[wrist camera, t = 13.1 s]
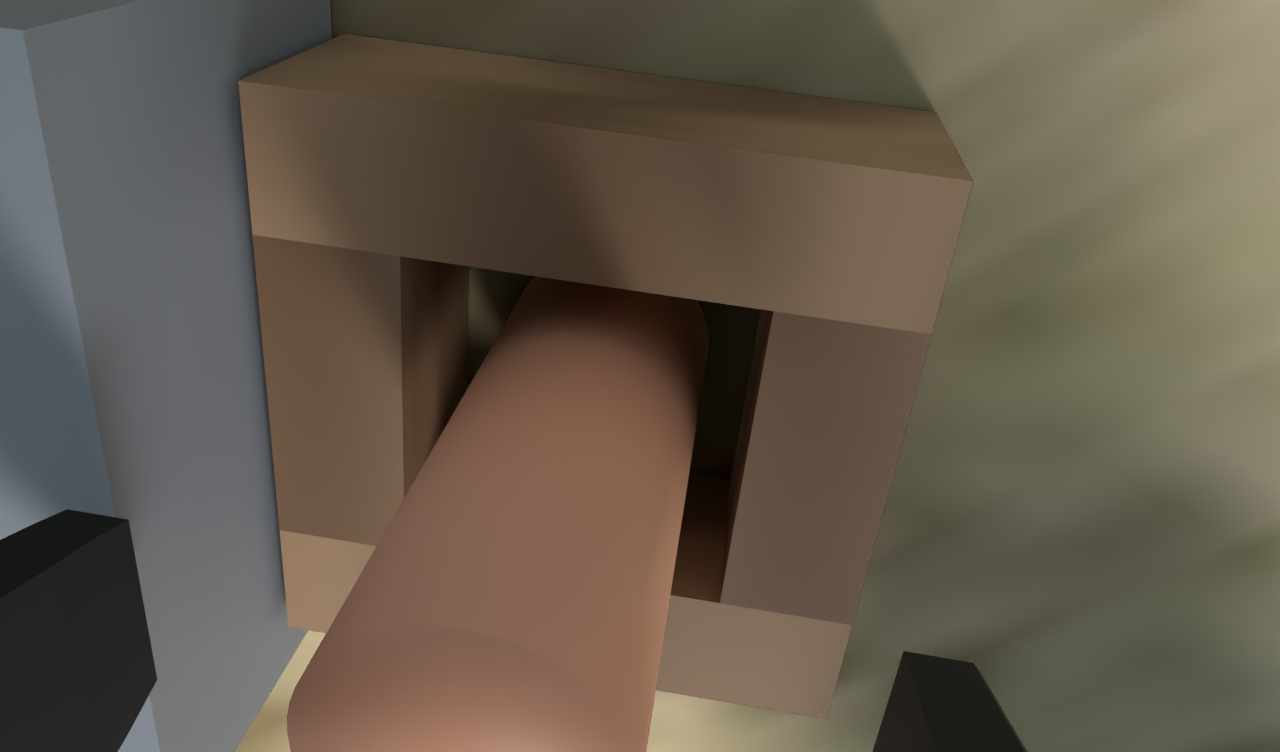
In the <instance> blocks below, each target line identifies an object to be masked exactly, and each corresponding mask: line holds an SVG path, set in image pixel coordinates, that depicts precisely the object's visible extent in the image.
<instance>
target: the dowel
mask: <svg viewBox="0 0 1280 752" xmlns="http://www.w3.org/2000/svg"><path fill="white" fill-rule="evenodd" d="M707 355H708V330H707V325H706V321H705V317H704V314H703V312H702V309H701V306H700V305H699V303H698V301H697V300H694V299H687V298H680V297H673V296H667V295H660V294H653V293H646V292H639V291H633V290H626V289H619V288H612V287H605V286H599V285H592V284H585V283H578V282H571V281H565V280H558V279H551V278H544V277H537V276H534V277H533V279H532V280H531V281H530V282H529V284H528V285H527V287H526V288H525V290H524V292H523V293H522V295H521V297H520V299H519V300H518V302H517V304H516V305H515V307H514V309H513V311H512V312H511V314H510V316H509V318H508V319H507V321H506V323H505V325H504V326H503V328H502V330H501V331H500V333H499V335H498V337H497V338H496V340H495V342H494V344H493V345H492V347H491V349H490V351H489V352H488V354H487V356H486V357H485V359H484V361H483V363H482V364H481V366H480V368H479V370H478V371H477V373H476V375H475V377H474V378H473V380H472V382H471V383H470V385H469V387H468V389H467V390H466V392H465V394H464V396H463V397H462V399H461V401H460V403H459V404H458V406H457V408H456V409H455V411H454V413H453V415H452V416H451V418H450V420H449V422H448V423H447V425H446V427H445V429H444V430H443V432H442V434H441V435H440V437H439V439H438V441H437V442H436V444H435V446H434V448H433V449H432V451H431V453H430V455H429V456H428V458H427V460H426V461H425V463H424V465H423V467H422V468H421V470H420V472H419V474H418V475H417V477H416V479H415V481H414V482H413V484H412V486H411V487H410V489H409V491H408V493H407V494H406V496H405V498H404V500H403V501H402V503H401V505H400V507H399V508H398V510H397V512H396V513H395V515H394V517H393V519H392V520H391V522H390V524H389V526H388V527H387V529H386V531H385V533H384V534H383V536H382V538H381V540H380V541H379V543H378V545H377V546H376V548H375V550H374V552H373V553H372V555H371V557H370V559H369V560H368V562H367V564H366V566H365V567H364V569H363V571H362V572H361V574H360V576H359V578H358V579H357V581H356V583H355V585H354V586H353V588H352V590H351V592H350V593H349V595H348V597H347V598H346V600H345V602H344V604H343V605H342V607H341V609H340V611H339V612H338V614H337V616H336V618H335V619H334V621H333V623H332V624H331V626H330V628H329V630H328V631H327V633H326V635H325V637H324V638H323V640H322V642H321V644H320V645H319V647H318V649H317V650H316V652H315V654H314V656H313V657H312V659H311V661H310V663H309V664H308V666H307V668H306V670H305V671H304V673H303V675H302V676H301V678H300V680H299V682H298V683H297V685H296V687H295V689H294V692H293V695H292V697H291V700H290V704H289V709H288V715H287V733H288V739H289V744H290V749H291V752H646V749H647V743H648V736H649V730H650V723H651V717H652V710H653V704H654V697H655V691H656V684H657V678H658V671H659V665H660V658H661V652H662V646H663V639H664V633H665V626H666V620H667V613H668V607H669V600H670V594H671V587H672V581H673V574H674V568H675V561H676V555H677V549H678V542H679V536H680V529H681V523H682V516H683V510H684V503H685V497H686V490H687V484H688V477H689V471H690V464H691V458H692V452H693V445H694V439H695V432H696V426H697V419H698V413H699V406H700V400H701V393H702V387H703V380H704V374H705V367H706V361H707Z"/></svg>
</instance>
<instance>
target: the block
mask: <svg viewBox="0 0 1280 752" xmlns="http://www.w3.org/2000/svg"><path fill="white" fill-rule="evenodd" d="M238 84H239V95H240V106H241V116H242V127H243V138H244V149H245V160H246V171H247V182H248V193H249V203H250V214H251V225H252V236H253V247H254V258H255V269H256V279H257V290H258V301H259V312H260V323H261V334H262V345H263V356H264V366H265V377H266V388H267V399H268V410H269V421H270V432H271V443H272V453H273V464H274V475H275V486H276V497H277V508H278V519H279V530H280V540H281V551H282V562H283V573H284V584H285V595H286V606H287V617H288V627H294V628H300V629H306V630H311V631H317V632H323V633H327V631H328V630H329V628H330V626H331V624H332V623H333V621H334V619H335V618H336V616H337V614H338V612H339V611H340V609H341V607H342V605H343V604H344V602H345V600H346V598H347V597H348V595H349V593H350V592H351V590H352V588H353V586H354V585H355V583H356V581H357V579H358V578H359V576H360V574H361V572H362V571H363V569H364V567H365V566H366V564H367V562H368V560H369V559H370V557H371V555H372V553H373V552H374V550H375V548H376V546H377V545H378V543H379V541H380V540H381V538H382V536H383V534H384V533H385V531H386V529H387V527H388V526H389V524H390V522H391V520H392V519H393V517H394V515H395V513H396V512H397V510H398V508H399V507H400V505H401V503H402V501H403V500H404V498H405V496H406V494H407V493H408V491H409V489H410V487H411V486H412V484H413V482H414V481H415V479H416V477H417V475H418V474H419V472H420V470H421V468H422V467H423V465H424V463H425V461H426V460H427V458H428V456H429V455H430V453H431V451H432V449H433V448H434V446H435V444H436V442H437V441H438V439H439V437H440V435H441V434H442V432H443V430H444V429H445V427H446V425H447V423H448V422H449V420H450V418H451V416H452V415H453V413H454V411H455V409H456V408H457V406H458V404H459V403H460V401H461V399H462V397H463V396H464V394H465V392H466V388H467V338H468V288H469V267H476V268H483V269H490V270H496V271H503V272H510V273H517V274H524V275H531V276H537V277H544V278H551V279H558V280H565V281H571V282H578V283H585V284H592V285H599V286H605V287H612V288H619V289H626V290H633V291H639V292H646V293H653V294H660V295H667V296H673V297H680V298H687V299H694V300H701V301H708V302H714V303H721V304H728V305H735V306H742V307H748V308H755V309H761V310H760V316H759V322H758V327H757V333H756V339H755V344H754V350H753V356H752V361H751V367H750V373H749V378H748V384H747V390H746V395H745V401H744V407H743V412H742V418H741V423H740V429H739V435H738V440H737V446H736V452H735V457H734V463H733V469H732V474H731V479H726V478H719V477H713V476H707V475H700V474H694V473H689V477H688V484H687V490H686V497H685V503H684V510H683V516H682V523H681V529H680V536H679V542H678V549H677V555H676V561H675V568H674V574H673V581H672V587H671V594H670V600H669V607H668V613H667V620H666V626H665V633H664V639H663V646H662V652H661V658H660V665H659V671H658V678H657V684H656V690H659V691H665V692H671V693H677V694H683V695H688V696H694V697H700V698H706V699H712V700H717V701H723V702H729V703H735V704H741V705H746V706H752V707H758V708H764V709H770V710H775V711H781V712H787V713H793V714H799V715H804V716H810V717H816V718H822V719H827V717H828V713H829V710H830V706H831V702H832V699H833V695H834V691H835V688H836V684H837V680H838V677H839V673H840V669H841V666H842V662H843V658H844V654H845V651H846V647H847V643H848V640H849V636H850V632H851V629H852V625H853V621H854V618H855V614H856V610H857V607H858V603H859V599H860V596H861V592H862V588H863V585H864V581H865V577H866V574H867V570H868V566H869V563H870V559H871V555H872V552H873V548H874V544H875V541H876V537H877V533H878V530H879V526H880V522H881V519H882V515H883V511H884V508H885V504H886V500H887V497H888V493H889V489H890V486H891V482H892V478H893V475H894V471H895V467H896V464H897V460H898V456H899V453H900V449H901V445H902V442H903V438H904V434H905V431H906V427H907V423H908V420H909V416H910V412H911V409H912V405H913V401H914V398H915V394H916V390H917V387H918V383H919V379H920V376H921V372H922V368H923V364H924V361H925V357H926V353H927V350H928V346H929V342H930V339H931V335H932V331H933V328H934V324H935V320H936V317H937V313H938V309H939V306H940V302H941V298H942V295H943V291H944V287H945V284H946V280H947V276H948V273H949V269H950V265H951V262H952V258H953V254H954V251H955V247H956V243H957V240H958V236H959V232H960V229H961V225H962V221H963V218H964V214H965V210H966V207H967V203H968V199H969V196H970V192H971V188H972V185H973V180H972V178H971V176H970V174H969V172H968V170H967V169H966V167H965V165H964V163H963V161H962V159H961V158H960V156H959V154H958V152H957V150H956V148H955V146H954V145H953V143H952V141H951V139H950V137H949V135H948V134H947V132H946V130H945V128H944V126H943V124H942V122H941V121H940V119H939V117H938V115H937V113H936V112H930V111H922V110H915V109H907V108H900V107H892V106H885V105H877V104H870V103H862V102H854V101H847V100H839V99H832V98H824V97H817V96H809V95H802V94H794V93H787V92H779V91H772V90H764V89H757V88H749V87H742V86H734V85H726V84H719V83H711V82H704V81H696V80H689V79H681V78H674V77H666V76H659V75H651V74H644V73H636V72H629V71H621V70H614V69H606V68H598V67H591V66H583V65H576V64H568V63H561V62H553V61H546V60H538V59H531V58H523V57H516V56H508V55H501V54H493V53H485V52H478V51H470V50H463V49H455V48H448V47H440V46H433V45H425V44H418V43H410V42H403V41H395V40H388V39H380V38H373V37H365V36H357V35H350V34H342V35H340V36H338V37H335V38H333V39H331V40H329V41H326V42H324V43H322V44H320V45H317V46H315V47H313V48H311V49H308V50H306V51H304V52H302V53H299V54H297V55H295V56H293V57H290V58H288V59H286V60H284V61H281V62H279V63H277V64H275V65H272V66H270V67H268V68H266V69H263V70H261V71H259V72H257V73H254V74H252V75H250V76H248V77H245V78H243V79H241V80H239V81H238Z"/></svg>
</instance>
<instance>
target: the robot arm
mask: <svg viewBox="0 0 1280 752" xmlns="http://www.w3.org/2000/svg"><path fill="white" fill-rule="evenodd" d="M156 681H157V675H156V669H155V664H154V658H153V653H152V647H151V641H150V636H149V630H148V625H147V619H146V614H145V608H144V602H143V597H142V591H141V586H140V580H139V575H138V569H137V563H136V558H135V552H134V547H133V541H132V536H131V530H130V524H129V520H128V519H122V518H116V517H110V516H104V515H98V514H93V513H87V512H81V511H75V510H69V509H66V510H64V511H62V512H60V513H57V514H55V515H53V516H50V517H48V518H46V519H44V520H41V521H39V522H37V523H35V524H33V525H30V526H28V527H26V528H24V529H22V530H20V531H18V532H16V533H14V534H11V535H9V536H7V537H5V538H3V539H1V540H0V752H118V751H119V749H120V747H121V745H122V744H123V742H124V740H125V739H126V737H127V735H128V733H129V731H130V730H131V728H132V726H133V724H134V722H135V720H136V718H137V717H138V715H139V713H140V711H141V709H142V707H143V705H144V704H145V702H146V700H147V698H148V696H149V694H150V692H151V691H152V689H153V687H154V685H155V683H156ZM873 752H1027V751H1026V749H1025V747H1024V746H1023V744H1022V742H1021V741H1020V739H1019V737H1018V735H1017V734H1016V732H1015V730H1014V729H1013V727H1012V725H1011V724H1010V722H1009V720H1008V718H1007V717H1006V715H1005V713H1004V712H1003V710H1002V708H1001V706H1000V705H999V703H998V701H997V700H996V698H995V696H994V695H993V693H992V691H991V689H990V688H989V686H988V684H987V683H986V681H985V679H984V677H983V676H982V674H981V673H980V672H979V670H978V669H977V667H976V666H975V665H974V663H970V662H964V661H958V660H952V659H946V658H940V657H935V656H929V655H923V654H917V653H911V652H905V651H904V652H903V655H902V659H901V662H900V665H899V668H898V671H897V675H896V678H895V681H894V684H893V688H892V691H891V694H890V697H889V701H888V704H887V707H886V710H885V714H884V717H883V720H882V723H881V726H880V730H879V733H878V736H877V739H876V743H875V746H874V749H873Z"/></svg>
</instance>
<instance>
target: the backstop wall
mask: <svg viewBox="0 0 1280 752" xmlns="http://www.w3.org/2000/svg"><path fill="white" fill-rule="evenodd" d="M331 39H332V29H331V8H330V0H0V540H1V539H3V538H5V537H7V536H9V535H11V534H14V533H16V532H18V531H20V530H22V529H24V528H26V527H28V526H30V525H33V524H35V523H37V522H39V521H41V520H44V519H46V518H48V517H50V516H53V515H55V514H57V513H60V512H62V511H64V510H66V509H69V510H75V511H81V512H87V513H93V514H98V515H104V516H110V517H116V518H122V519H128V520H129V524H130V530H131V536H132V541H133V547H134V552H135V558H136V563H137V569H138V575H139V580H140V586H141V591H142V597H143V602H144V608H145V614H146V619H147V625H148V630H149V636H150V641H151V647H152V653H153V658H154V664H155V669H156V675H157V681H156V683H155V685H154V687H153V689H152V691H151V692H150V694H149V696H148V698H147V700H146V702H145V704H144V705H143V707H142V709H141V711H140V713H139V715H138V717H137V718H136V720H135V722H134V724H133V726H132V728H131V730H130V731H129V733H128V735H127V737H126V739H125V740H124V742H123V744H122V745H121V747H120V749H119V751H118V752H235V751H236V749H237V747H238V746H239V744H240V742H241V741H242V739H243V737H244V736H245V734H246V732H247V731H248V729H249V727H250V726H251V724H252V722H253V721H254V719H255V717H256V716H257V714H258V712H259V711H260V709H261V707H262V706H263V704H264V702H265V701H266V699H267V698H268V696H269V694H270V693H271V691H272V689H273V688H274V686H275V684H276V683H277V681H278V679H279V678H280V676H281V674H282V673H283V671H284V669H285V668H286V666H287V664H288V663H289V661H290V659H291V658H292V656H293V654H294V653H295V651H296V649H297V648H298V646H299V644H300V643H301V641H302V639H303V638H304V636H305V635H306V633H307V631H308V630H306V629H300V628H294V627H288V617H287V606H286V595H285V584H284V573H283V562H282V551H281V540H280V530H279V519H278V508H277V497H276V486H275V475H274V464H273V453H272V443H271V432H270V421H269V410H268V399H267V388H266V377H265V366H264V356H263V345H262V334H261V323H260V312H259V301H258V290H257V279H256V269H255V258H254V247H253V236H252V225H251V214H250V203H249V193H248V182H247V171H246V160H245V149H244V138H243V127H242V116H241V106H240V95H239V84H238V81H239V80H241V79H243V78H245V77H248V76H250V75H252V74H254V73H257V72H259V71H261V70H263V69H266V68H268V67H270V66H272V65H275V64H277V63H279V62H281V61H284V60H286V59H288V58H290V57H293V56H295V55H297V54H299V53H302V52H304V51H306V50H308V49H311V48H313V47H315V46H317V45H320V44H322V43H324V42H326V41H329V40H331Z"/></svg>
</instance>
